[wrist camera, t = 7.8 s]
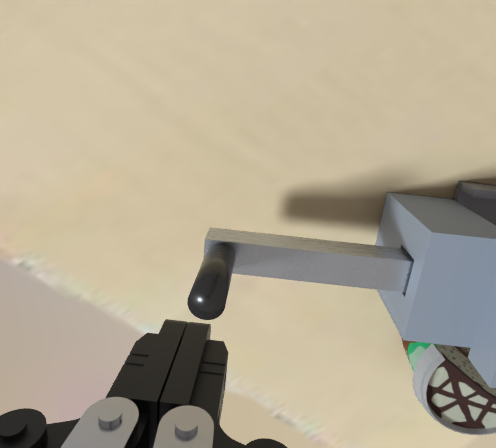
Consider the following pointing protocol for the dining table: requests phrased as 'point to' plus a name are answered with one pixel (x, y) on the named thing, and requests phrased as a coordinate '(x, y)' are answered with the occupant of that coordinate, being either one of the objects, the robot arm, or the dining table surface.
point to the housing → (444, 276)
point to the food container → (452, 388)
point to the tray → (478, 199)
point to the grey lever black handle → (292, 265)
